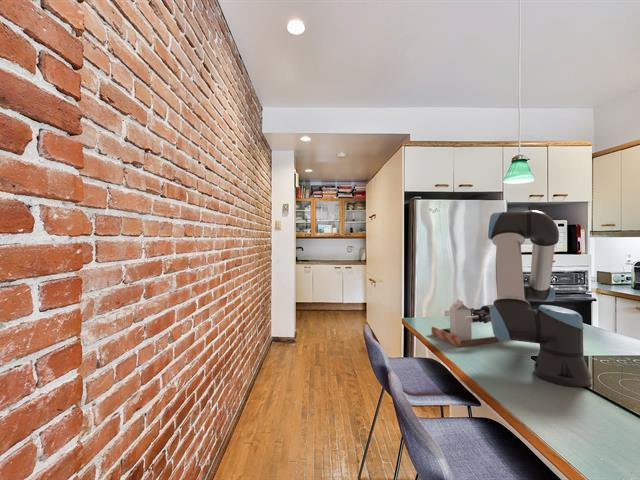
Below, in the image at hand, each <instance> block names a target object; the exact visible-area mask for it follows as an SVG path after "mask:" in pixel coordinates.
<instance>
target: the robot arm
mask: <svg viewBox="0 0 640 480" xmlns="http://www.w3.org/2000/svg"><path fill="white" fill-rule="evenodd" d="M487 231H488V233H487V238H488V239H489V240H491V242H492V244H493V245H494V246H495V247H496V248H495V249H496V250H495V251H496V278H497V279H496V280H497V281H496V282H497V298H496V299H494V300H493V304H487V305H485V304H484V305H482V306H481V307H480V308H476V309H475V308H474V307H472V308H471V307H470V308H469V309H470V310H471V316H469V317H465V323H471V324H472V323H483V324H488V323H491V328H492V334H493V335H494V337H497V338H499V340H500V339H501V340H506V341H515V342H524V343H530V344H539V351H538V355H537V357H536V359H535V362H534V365H533V370H534V371H533V372H534V374H535V375H537V377H539V378H540V379H543V380H545V381H547V382H550V383H554V384H557V385H560V386H565V387H573V388H574V387H575V388H585V387H589V386H591V385H592V375H591V373H590V371H589V368H588V366H587V365H588V364H587V363H586V360H585V357H584V356H585V355H584V328H585V327H584V322H583V316H582V315H581V314H580V313H579V312H577V311H575V310H572V309H569V308H565V307H561V306H557V305H549V304H540V305H539V306H538V308H536V309H535V308H531V303H530V302H529V301H536V302H554V301H555V299H556V290H555V287H554V285H551V280H552V272H553V266H554V265H553V263H554V255H555V246H556V245H557V244H558V243H559V241H560V239H559V238H560V232H559V228H558V226H557V224H556V222H555V221H554V220H553V218H552V217H550V216H549V215H548V214H546V213H544V212H543V211H539V210H534V209H532V210H531V209H530V210H517V211H500V212H493V213H491V215H490V218H489V223H488V229H487ZM526 239H528V240H529V241H530V242H531V243H532V246H531V247H532V248H531V249H532V250H531V263H530V265H531V266H530V278H529V280H530V281H529V284H526V283H524V270H523V259H522V257H523V256H522V245H523V244H524V243H525V241H526ZM444 317H450V309H444Z"/></svg>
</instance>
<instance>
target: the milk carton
mask: <svg viewBox="0 0 640 480" xmlns="http://www.w3.org/2000/svg"><path fill="white" fill-rule="evenodd" d="M449 310H450V316H449V325H450V326H449V328H450V334H453V335H455V336H458V337H460V341H463V340H472V339H473V338H472V323H465V317H469V316H471V310H470V308H468V307H467V306H466V305H465V304H464V301H463V300H461V299H459V298H456V301H455V302H454V303H452V305H450V307H449Z"/></svg>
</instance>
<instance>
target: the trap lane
mask: <svg viewBox="0 0 640 480" xmlns="http://www.w3.org/2000/svg"><path fill="white" fill-rule="evenodd" d="M431 335H432V336H434V337H436V338H437V339H441V340H442V339H443V340H442V341H444V342H447V343H449V344H451V345H454V346H455V347H458V348H460V347H461V348H462V347H469V346H477V345H478V346H479V345H486V344H493V343H499V341H500V338H497V337H495V336H490V337H481V338H472V340H463V341H460V337H458V336H455V335H453V334H450V327H449V328H438V327H436V326H431Z"/></svg>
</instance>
